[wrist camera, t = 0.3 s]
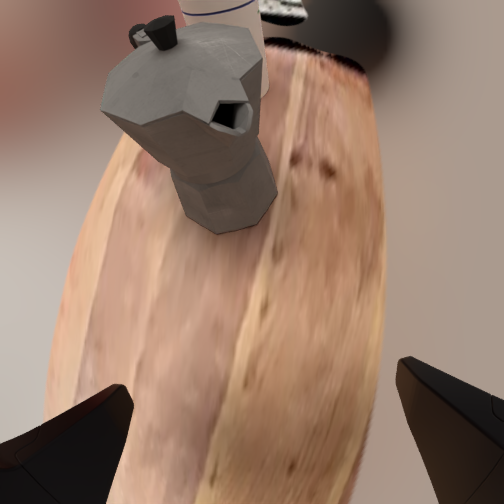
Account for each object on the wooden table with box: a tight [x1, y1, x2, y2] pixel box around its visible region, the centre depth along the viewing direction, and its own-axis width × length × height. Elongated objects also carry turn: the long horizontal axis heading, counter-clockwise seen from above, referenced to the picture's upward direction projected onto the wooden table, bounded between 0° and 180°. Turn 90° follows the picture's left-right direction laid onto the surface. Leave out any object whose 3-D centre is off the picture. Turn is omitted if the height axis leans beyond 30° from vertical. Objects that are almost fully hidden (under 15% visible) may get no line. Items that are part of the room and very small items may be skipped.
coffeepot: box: [100, 15, 278, 234], centre depth 19 cm, size 15×9×18 cm, turn 34°
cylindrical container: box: [178, 0, 269, 98], centre depth 19 cm, size 7×7×25 cm
